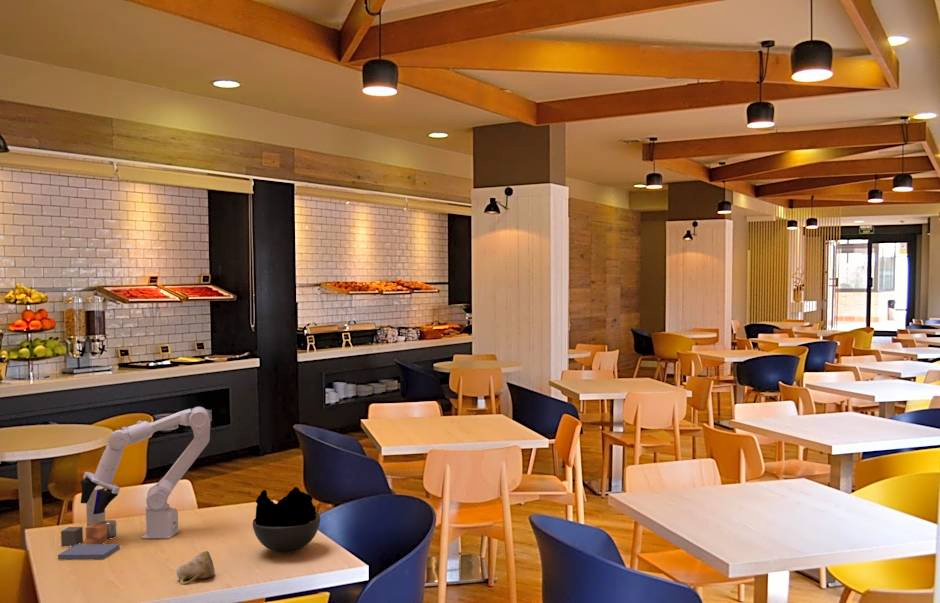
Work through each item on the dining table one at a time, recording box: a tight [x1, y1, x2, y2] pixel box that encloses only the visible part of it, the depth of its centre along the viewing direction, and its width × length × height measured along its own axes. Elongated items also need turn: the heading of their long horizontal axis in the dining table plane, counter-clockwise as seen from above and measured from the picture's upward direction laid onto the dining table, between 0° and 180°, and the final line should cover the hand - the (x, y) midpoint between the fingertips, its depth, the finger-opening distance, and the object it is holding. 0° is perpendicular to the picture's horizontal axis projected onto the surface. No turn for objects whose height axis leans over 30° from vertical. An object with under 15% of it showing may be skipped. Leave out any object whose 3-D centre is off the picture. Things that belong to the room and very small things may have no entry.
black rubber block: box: [60, 526, 84, 547], centre depth 260 cm, size 4×4×5 cm
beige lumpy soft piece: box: [176, 550, 216, 586], centre depth 225 cm, size 8×10×10 cm
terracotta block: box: [85, 524, 108, 544], centre depth 259 cm, size 4×4×6 cm
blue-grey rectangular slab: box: [57, 543, 121, 560], centre depth 249 cm, size 14×10×2 cm
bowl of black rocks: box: [252, 486, 321, 554], centre depth 247 cm, size 20×20×19 cm
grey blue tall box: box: [85, 485, 106, 527], centre depth 272 cm, size 6×6×15 cm
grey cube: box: [99, 519, 117, 540], centre depth 266 cm, size 5×5×5 cm
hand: (91, 507), depth 261 cm, fingers open, 7 cm apart
